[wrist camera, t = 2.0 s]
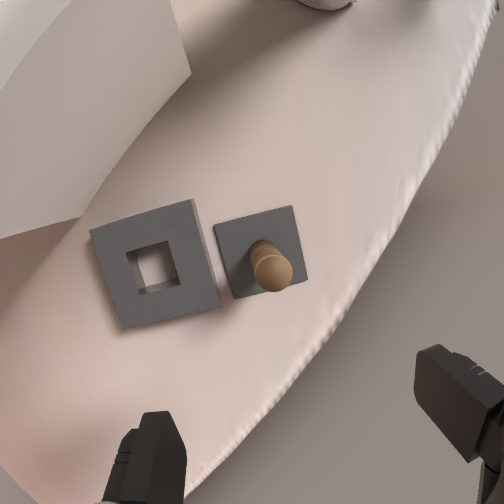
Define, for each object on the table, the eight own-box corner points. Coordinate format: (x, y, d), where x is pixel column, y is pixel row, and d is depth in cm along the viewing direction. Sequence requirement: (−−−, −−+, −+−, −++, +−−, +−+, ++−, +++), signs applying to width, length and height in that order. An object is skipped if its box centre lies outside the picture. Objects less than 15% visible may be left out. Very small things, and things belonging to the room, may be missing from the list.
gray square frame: (193, 198, 35) (190, 199, 32) (221, 297, 38) (220, 306, 35) (99, 226, 35) (89, 230, 32) (129, 319, 37) (123, 328, 34)
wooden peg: (273, 235, 36) (288, 251, 27) (279, 263, 37) (296, 286, 28) (245, 243, 36) (251, 261, 27) (252, 270, 37) (260, 296, 28)
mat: (291, 205, 36) (291, 205, 36) (307, 278, 38) (308, 279, 38) (214, 224, 36) (214, 225, 35) (234, 298, 38) (234, 299, 37)
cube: (192, 75, 32) (150, -65, 9) (82, 216, 35) (-69, 262, 11) (69, -1, 28) (-13, -89, 4) (-18, 118, 30) (-139, 99, 6)
